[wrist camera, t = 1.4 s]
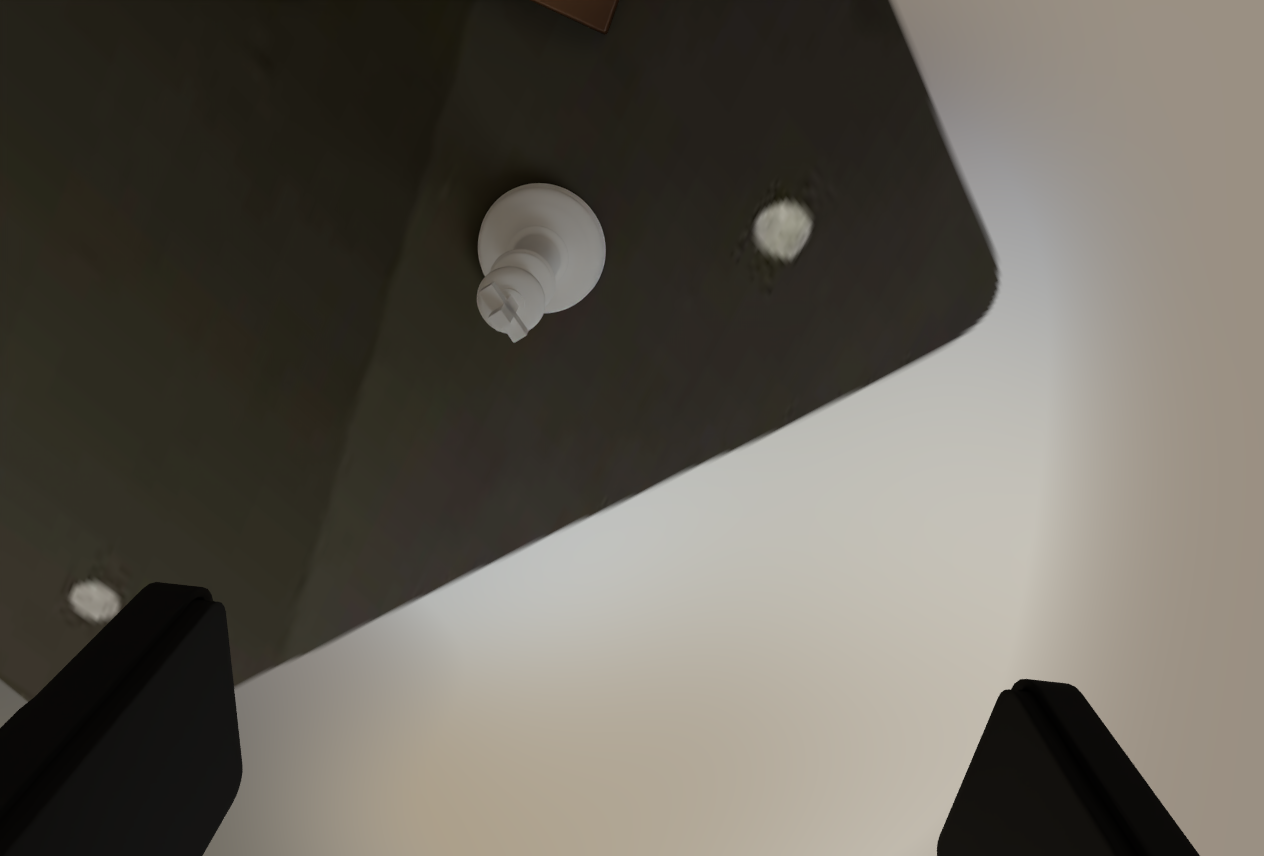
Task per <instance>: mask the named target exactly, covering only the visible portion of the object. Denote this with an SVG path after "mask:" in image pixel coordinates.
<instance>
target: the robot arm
mask: <svg viewBox="0 0 1264 856" xmlns="http://www.w3.org/2000/svg"><path fill="white" fill-rule="evenodd" d="M241 778H242V758H241V748H240V739H239V731H238V721H237V712H236V702H235V694H234V684H233V674H232V665H231V656H230V647H229V638H228V628H227V619H226V611H225V607H224V606H223V604H222V603H220V602H215V601H213V599H212V595H211V593H210V592H209V590H208V589H206V588H203V587H196V586H187V585H178V584H169V583H160V582H155V583H151V584H149V585H147V586H146V587H145V588H143V589H142V590H141V591H140V592H139V593H138V594H137V595H136V596H135V597H134V598H133V599H132V600H131V601H130V602H129V603H128V604H127V605H126V606H125V607H124V608H123V609H122V610H121V611H120V612H119V613H118V614H117V615H116V616H115V617H114V618H113V619H112V620H111V621H110V622H109V623H108V624H107V625H106V626H105V627H104V628H103V629H102V630H101V631H100V632H99V633H98V634H97V635H96V636H95V637H94V638H93V639H92V640H91V641H90V642H89V643H88V644H87V645H86V646H85V647H84V648H83V649H82V650H81V651H80V652H79V653H78V654H77V655H76V656H75V657H74V658H73V659H72V660H71V661H70V662H69V663H68V664H67V665H66V666H65V667H64V668H63V669H62V670H61V671H60V672H59V673H58V674H57V675H56V676H55V677H54V678H53V679H52V680H51V681H50V682H49V683H48V684H47V685H46V686H45V687H44V688H43V689H42V690H41V691H40V692H39V693H38V694H37V695H36V696H35V697H34V698H33V699H32V700H30V701H29V702H28V703H27V704H25V705H24V706H23V707H22V708H20V709H19V710H18V711H17V712H16V713H15V714H14V715H13V716H12V717H11V718H10V719H9V720H8V721H7V722H6V723H5V724H4V725H3V726H2V727H1V728H0V856H202V855H203V854H204V852H205V850H206V848H207V847H208V845H209V843H210V841H211V840H212V838H213V836H214V834H215V833H216V831H217V829H218V827H219V826H220V824H221V822H222V820H223V819H224V817H225V815H226V814H227V812H228V810H229V808H230V807H231V805H232V803H233V801H234V799H235V797H236V794H237V792H238V789H239V786H240V782H241ZM937 856H1199V854H1198V853H1197V851H1196V850H1195V849H1194V847H1193V846H1192V844H1191V843H1190V842H1189V840H1188V839H1187V837H1186V836H1185V835H1184V833H1183V832H1182V831H1181V829H1180V828H1179V827H1178V825H1177V824H1176V822H1175V821H1174V820H1173V818H1172V817H1171V816H1170V814H1169V813H1168V811H1167V810H1166V809H1165V807H1164V806H1163V805H1162V803H1161V802H1160V800H1159V799H1158V798H1157V796H1156V795H1155V794H1154V792H1153V791H1152V789H1151V788H1150V787H1149V786H1148V784H1147V783H1146V781H1145V780H1144V779H1143V777H1142V776H1141V774H1140V773H1139V772H1138V770H1137V769H1136V768H1135V766H1134V765H1133V763H1132V762H1131V761H1130V759H1129V758H1128V756H1127V755H1126V754H1125V752H1124V751H1123V750H1122V748H1121V747H1120V745H1119V744H1118V743H1117V741H1116V740H1115V739H1114V737H1113V736H1112V734H1111V733H1110V732H1109V730H1108V729H1107V728H1106V726H1105V725H1104V723H1103V722H1102V721H1101V719H1100V718H1099V717H1098V715H1097V714H1096V713H1095V711H1094V710H1093V708H1092V707H1091V706H1090V704H1089V703H1088V701H1087V700H1086V699H1085V697H1084V696H1083V695H1082V693H1081V692H1080V691H1079V690H1078V689H1077V688H1076V687H1074V686H1072V685H1070V684H1066V683H1057V682H1047V681H1039V680H1030V679H1021V680H1019V681H1018V682H1016V683H1015V684H1014V686H1013V687H1012V689H1011V690H1004V691H1003V692H1001V694H1000V696H999V697H998V699H997V701H996V704H995V706H994V709H993V711H992V713H991V716H990V718H989V720H988V723H987V725H986V728H985V730H984V733H983V735H982V737H981V739H980V742H979V744H978V747H977V749H976V751H975V753H974V756H973V758H972V761H971V763H970V765H969V768H968V770H967V772H966V775H965V777H964V780H963V782H962V784H961V787H960V789H959V792H958V794H957V796H956V798H955V801H954V803H953V806H952V808H951V810H950V813H949V815H948V818H947V820H946V822H945V824H944V827H943V829H942V832H941V834H940V837H939V840H938V845H937Z"/></svg>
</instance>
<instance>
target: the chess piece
mask: <svg viewBox="0 0 1264 856" xmlns="http://www.w3.org/2000/svg"><path fill="white" fill-rule="evenodd" d="M605 255H606V246H605V238H604V234H603V230H602V228H601V225H600V223H599V221H598V219H597V217H596V215H595V214H594V212H593V211H592V209H591V208H590V207H589V206H588V205H587V204H586V203H585V202H584V201H583V200H582V199H581V198H580V197H578V196H577V195H576V194H574V193H572V192H571V191H569V190H567V189H565V188H562V187H559V186H556V185H552V184H546V183H532V184H526V185H522V186H519V187H516V188H514V189H512V190H510V191H508V192H506V193H505V194H503V195H502V196H501V197H500V198H498V199H497V200H496V201H495V202H494V204H493V205H492V206H491V207H490V209H489V210H488V212H487V213H486V215H485V217H484V219H483V222H482V225H481V228H480V232H479V238H478V257H479V262H480V265H481V269H482V271H483V274H484V276H485V277H484V279H483V280H482V282H481V283H480V285H479V288H478V292H477V305H478V309H479V311H480V314H481V315H482V317H483V319H484V320H485V321H486V322H487V323H488V324H489V325H490V326H491V327H493V328H494V329H496V330H497V331H500V332H503V333H507V334H508V335H509V337H510V338H511V340H512V341H513V342H514V343H515V342H517V341H518V340H520V339H521V338H523V337H525V336H526V335H527V333H528V330H530V329H531V328H533V327H534V326H535V325H536V324H537V323H538V322H539V321H540V319H541V318H542V316H543V313H553V312H558V311H562V310H565V309H567V308H569V307H571V306H573V305H575V304H576V303H578V302H579V301H581V300H582V299H583V298H584V297H585V296H586V295H587V294H588V293H589V292H590V291H591V290H592V289H593V288H594V286H595V285H596V283H597V281H598V280H599V278H600V275H601V273H602V270H603V267H604V262H605Z"/></svg>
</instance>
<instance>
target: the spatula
mask: <svg viewBox="0 0 1264 856" xmlns="http://www.w3.org/2000/svg"><path fill="white" fill-rule="evenodd" d="M530 1H532V2H534V3H537V4H539V5H541V6H543V7H545V8H548V9H550V10H552V11H554V12H556V13H558V14H561V15H563V16H565V17H567V18H569V19H572V20H574V21H576V22H578V23H580V24H582V25H585V26H587V27H589V28H591V29H593V30H596V31H598V32H600V33H602V34H607V33H608V31H609V28H610V25H611V22H612V19H613V16H614V14H615V11H616V8H617V5H618V2H619V0H530Z"/></svg>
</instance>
